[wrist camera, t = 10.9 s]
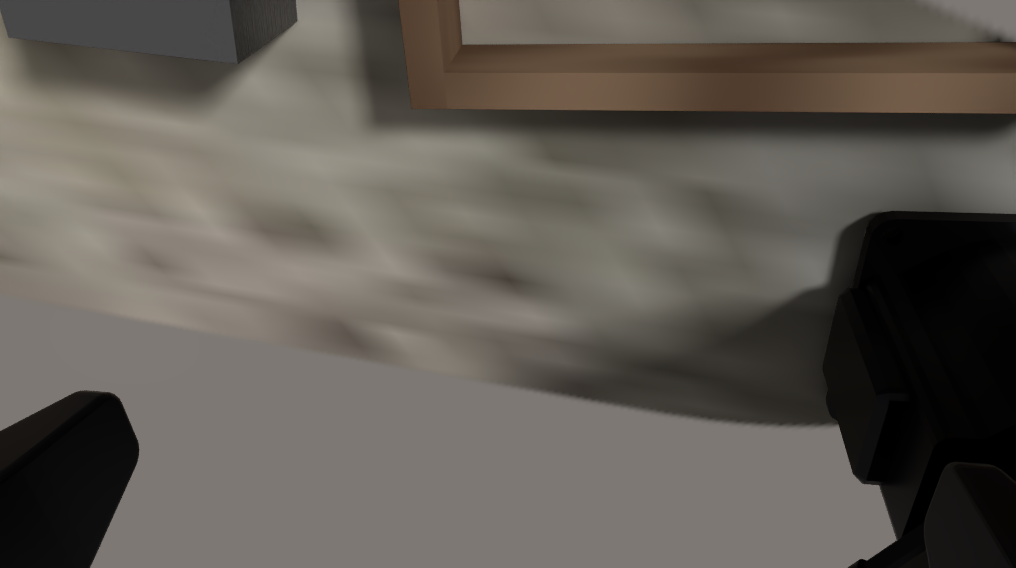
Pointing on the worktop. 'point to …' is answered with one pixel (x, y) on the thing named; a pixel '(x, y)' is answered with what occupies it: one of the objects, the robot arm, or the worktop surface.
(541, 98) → the walnut box
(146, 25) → the dark gray box
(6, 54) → the worktop surface
